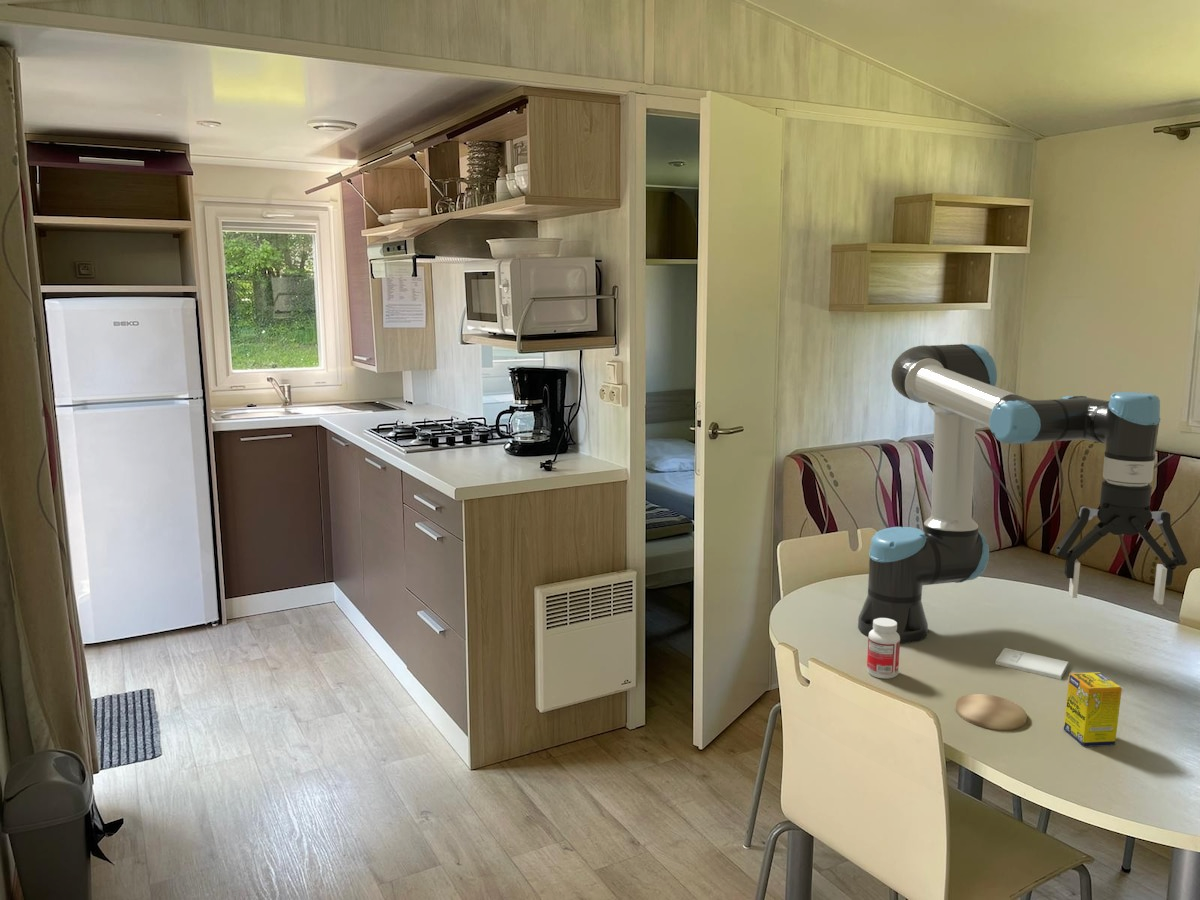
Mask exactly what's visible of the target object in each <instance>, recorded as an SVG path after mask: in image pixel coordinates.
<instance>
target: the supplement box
mask: <svg viewBox="0 0 1200 900" xmlns="http://www.w3.org/2000/svg"><path fill="white" fill-rule="evenodd" d="M1067 685H1068V686H1067V694H1066V696H1067V697H1066V704H1065V712H1064V713H1065V714H1064V722H1063V730H1064V731H1065V732H1066V733H1067V734H1069V735H1070V736H1071V737H1072V738H1074V739H1075V740H1076V741H1077V742H1078V743H1079V744H1080V745H1081V746H1082V747H1085V748H1086V747H1101V746H1102V747H1103V746H1106V747H1107V746H1115V745H1116V738H1117V732H1118V722H1119V714H1120V706H1121V698H1122V690H1123V687H1121V686H1120V685H1119V684H1116V683H1115V682H1114V681H1112V680H1111V679H1110V678H1109V677H1107V676H1105V674H1103V673H1102V672H1099V671H1097V672H1095V671H1094V672H1075V673H1069V675H1068V683H1067Z"/></svg>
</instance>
